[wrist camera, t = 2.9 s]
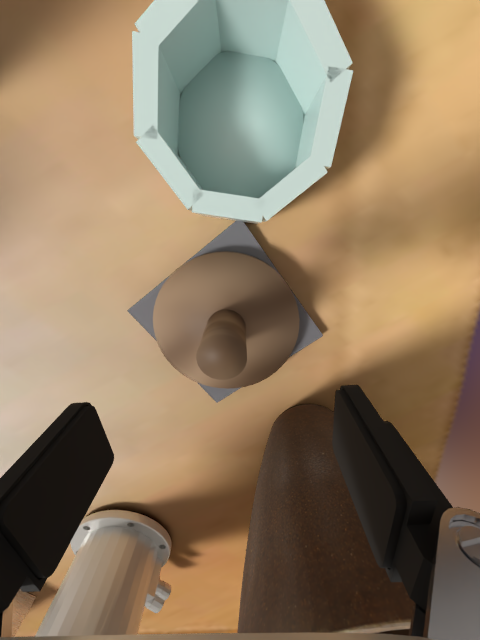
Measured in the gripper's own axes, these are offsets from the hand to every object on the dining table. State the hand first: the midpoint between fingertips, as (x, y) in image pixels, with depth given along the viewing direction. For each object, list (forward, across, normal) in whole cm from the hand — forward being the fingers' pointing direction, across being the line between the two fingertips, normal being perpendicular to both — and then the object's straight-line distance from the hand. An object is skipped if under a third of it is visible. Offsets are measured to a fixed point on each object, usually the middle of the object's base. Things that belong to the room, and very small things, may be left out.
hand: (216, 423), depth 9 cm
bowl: (+13, -2, -12) cm, 18 cm away
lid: (+12, 0, +1) cm, 12 cm away
